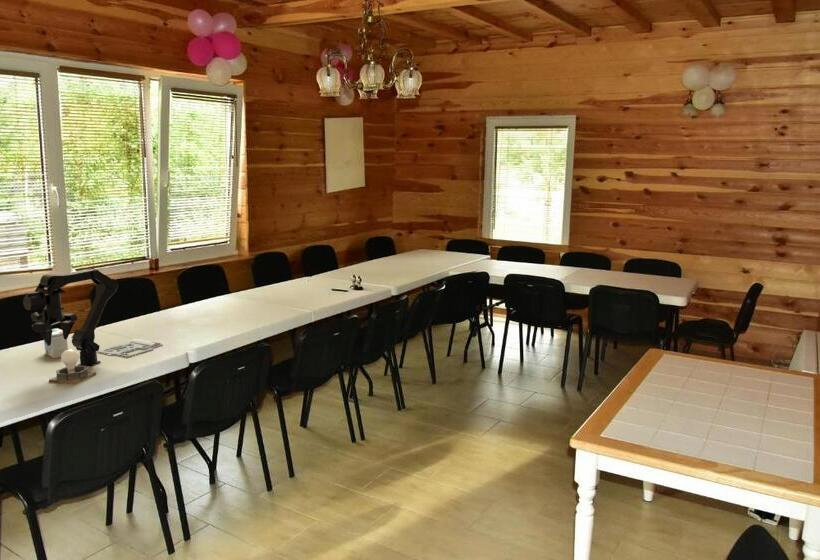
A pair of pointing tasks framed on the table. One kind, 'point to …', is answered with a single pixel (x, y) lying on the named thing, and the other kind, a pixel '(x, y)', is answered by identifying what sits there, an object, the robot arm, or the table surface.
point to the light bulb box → (56, 344)
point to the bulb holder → (72, 375)
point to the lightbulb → (70, 359)
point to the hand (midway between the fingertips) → (57, 342)
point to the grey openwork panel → (131, 348)
